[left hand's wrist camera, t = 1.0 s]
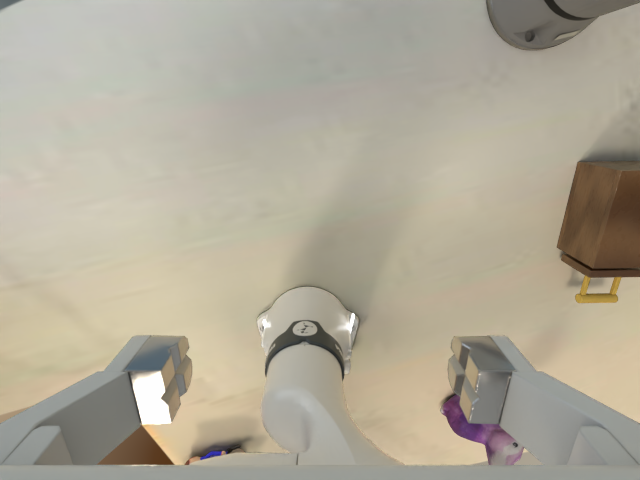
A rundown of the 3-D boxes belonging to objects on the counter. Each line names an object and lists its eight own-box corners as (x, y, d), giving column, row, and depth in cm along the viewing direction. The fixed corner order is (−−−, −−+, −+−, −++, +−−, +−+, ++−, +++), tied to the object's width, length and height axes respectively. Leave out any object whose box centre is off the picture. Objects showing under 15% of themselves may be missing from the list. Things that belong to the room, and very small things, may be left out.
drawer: (600, 289, 61) (632, 309, 55) (553, 289, 61) (579, 309, 55) (634, 181, 54) (674, 191, 48) (580, 182, 54) (614, 191, 48)
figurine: (501, 402, 71) (546, 474, 57) (461, 427, 74) (494, 502, 60) (475, 376, 69) (515, 444, 55) (434, 403, 71) (462, 475, 57)
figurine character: (245, 431, 76) (180, 452, 76) (241, 463, 69) (170, 486, 69) (255, 451, 78) (193, 472, 78) (253, 484, 71) (184, 507, 71)
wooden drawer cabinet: (612, 246, 59) (657, 267, 51) (556, 247, 59) (592, 268, 51) (639, 160, 54) (693, 169, 46) (577, 161, 54) (621, 170, 46)
